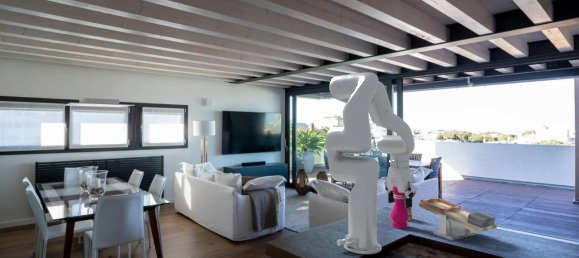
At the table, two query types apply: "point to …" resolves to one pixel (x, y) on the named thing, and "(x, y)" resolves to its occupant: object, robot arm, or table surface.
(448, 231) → the fulcrum
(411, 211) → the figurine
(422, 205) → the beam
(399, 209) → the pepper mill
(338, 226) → the table surface
